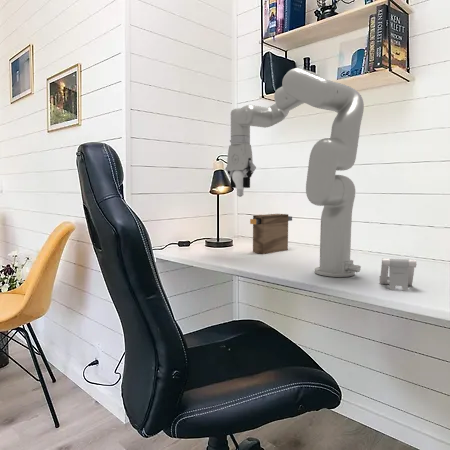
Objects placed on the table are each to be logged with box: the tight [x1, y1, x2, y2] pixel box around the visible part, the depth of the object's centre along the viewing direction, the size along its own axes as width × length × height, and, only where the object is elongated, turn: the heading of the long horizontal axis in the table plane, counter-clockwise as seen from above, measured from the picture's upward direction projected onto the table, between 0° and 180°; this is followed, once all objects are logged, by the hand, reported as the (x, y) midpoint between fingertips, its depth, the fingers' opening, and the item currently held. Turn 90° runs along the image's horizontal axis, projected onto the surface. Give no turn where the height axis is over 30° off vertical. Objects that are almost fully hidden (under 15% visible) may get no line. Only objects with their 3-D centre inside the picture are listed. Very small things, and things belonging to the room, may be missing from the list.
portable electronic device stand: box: [379, 257, 417, 292], centre depth 120 cm, size 9×8×8 cm
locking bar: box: [249, 215, 293, 225], centre depth 183 cm, size 3×25×2 cm, turn 134°
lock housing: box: [252, 213, 289, 255], centre depth 183 cm, size 6×16×16 cm, turn 134°
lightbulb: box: [232, 170, 245, 198], centre depth 168 cm, size 6×6×11 cm
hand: (240, 187), depth 168 cm, fingers closed on lightbulb, 6 cm apart
